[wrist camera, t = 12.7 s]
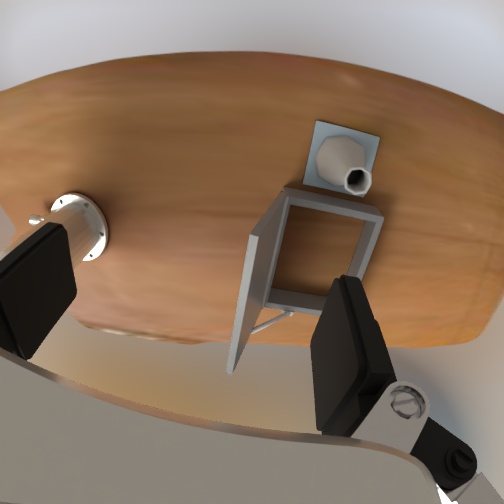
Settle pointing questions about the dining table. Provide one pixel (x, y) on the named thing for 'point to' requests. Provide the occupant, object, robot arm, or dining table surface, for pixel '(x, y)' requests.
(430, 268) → the dining table surface
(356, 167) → the flask
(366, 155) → the mat
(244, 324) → the lid and stay
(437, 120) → the dining table surface
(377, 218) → the case
